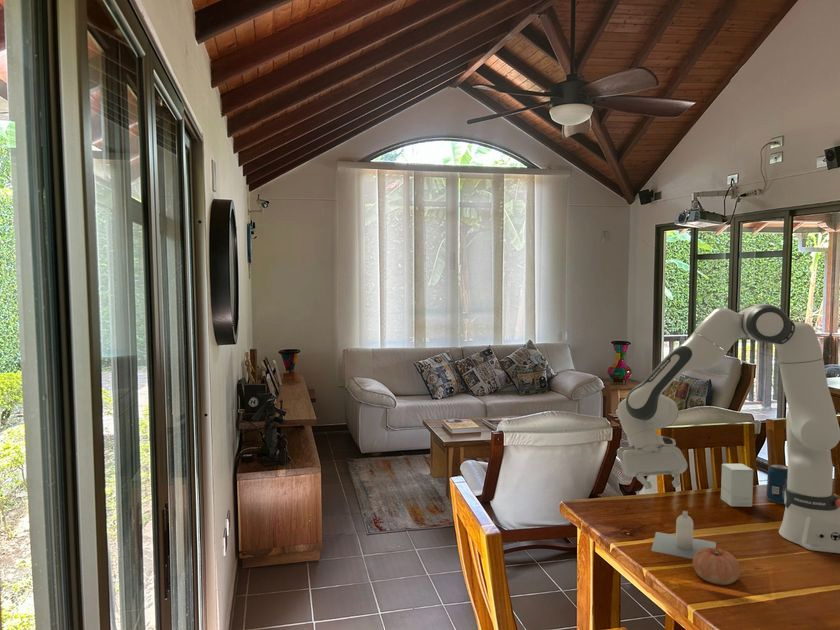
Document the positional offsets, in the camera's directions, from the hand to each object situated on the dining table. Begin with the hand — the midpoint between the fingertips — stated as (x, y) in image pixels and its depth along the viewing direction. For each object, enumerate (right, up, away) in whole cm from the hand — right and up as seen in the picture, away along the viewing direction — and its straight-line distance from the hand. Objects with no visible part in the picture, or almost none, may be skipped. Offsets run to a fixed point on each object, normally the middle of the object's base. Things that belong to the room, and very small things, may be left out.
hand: (663, 487), depth 178 cm
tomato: (+2, -16, -26) cm, 31 cm away
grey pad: (+2, -15, -9) cm, 18 cm away
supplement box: (+36, -13, +26) cm, 46 cm away
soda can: (+51, -13, +29) cm, 60 cm away
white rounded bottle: (+2, -14, -9) cm, 17 cm away
